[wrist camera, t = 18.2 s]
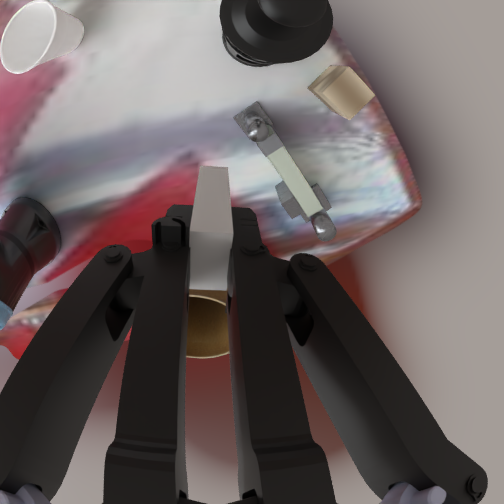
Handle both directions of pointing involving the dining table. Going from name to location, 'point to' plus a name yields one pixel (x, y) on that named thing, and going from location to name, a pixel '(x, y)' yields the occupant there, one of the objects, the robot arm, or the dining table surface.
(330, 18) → the french press
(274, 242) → the dining table surface
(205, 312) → the plant pot
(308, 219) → the metal knob post
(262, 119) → the post
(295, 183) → the gate
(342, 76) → the block
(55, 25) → the cup
